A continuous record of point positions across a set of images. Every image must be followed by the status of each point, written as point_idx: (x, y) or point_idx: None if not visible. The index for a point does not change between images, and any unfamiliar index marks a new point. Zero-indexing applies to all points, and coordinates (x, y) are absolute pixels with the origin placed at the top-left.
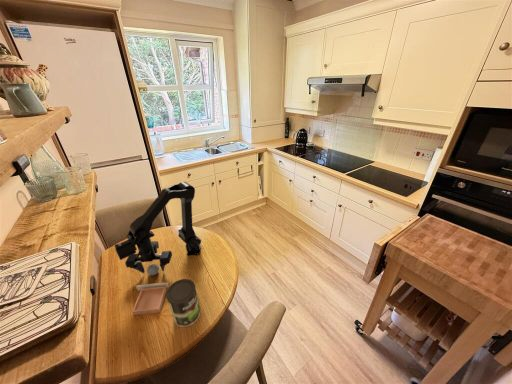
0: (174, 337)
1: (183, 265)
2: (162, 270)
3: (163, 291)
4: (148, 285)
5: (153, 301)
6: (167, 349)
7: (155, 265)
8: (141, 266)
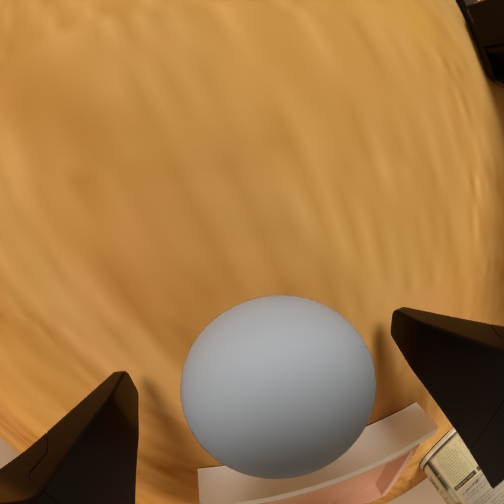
0: (413, 479)
1: (495, 201)
2: (409, 359)
3: (407, 461)
4: (306, 492)
5: (346, 483)
6: (396, 494)
7: (363, 415)
8: (95, 482)
